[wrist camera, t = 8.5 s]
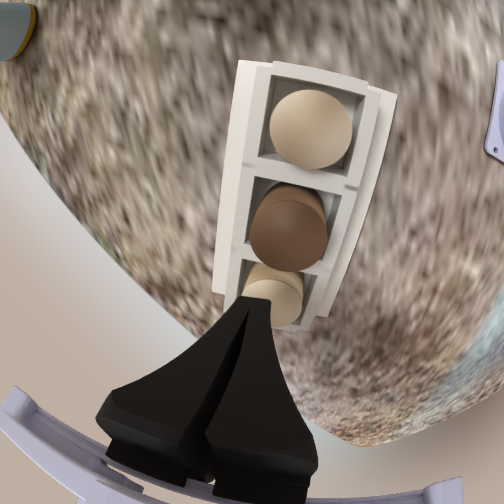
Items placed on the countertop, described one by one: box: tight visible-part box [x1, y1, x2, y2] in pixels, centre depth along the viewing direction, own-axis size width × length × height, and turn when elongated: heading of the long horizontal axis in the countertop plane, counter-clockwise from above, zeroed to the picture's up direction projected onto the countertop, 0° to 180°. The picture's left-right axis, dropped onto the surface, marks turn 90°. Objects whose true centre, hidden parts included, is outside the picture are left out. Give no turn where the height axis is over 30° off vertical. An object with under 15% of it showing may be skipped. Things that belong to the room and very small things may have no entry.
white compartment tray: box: [212, 60, 397, 333], centre depth 18 cm, size 10×18×4 cm, turn 172°
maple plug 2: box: [269, 90, 352, 169], centre depth 14 cm, size 4×4×4 cm
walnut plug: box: [249, 182, 327, 272], centre depth 16 cm, size 4×4×4 cm
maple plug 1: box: [242, 261, 304, 327], centre depth 20 cm, size 4×4×4 cm
